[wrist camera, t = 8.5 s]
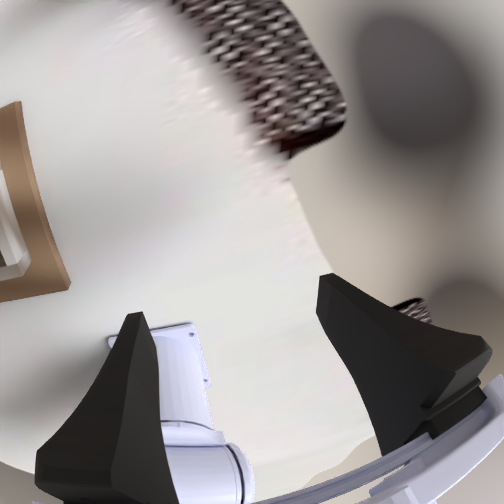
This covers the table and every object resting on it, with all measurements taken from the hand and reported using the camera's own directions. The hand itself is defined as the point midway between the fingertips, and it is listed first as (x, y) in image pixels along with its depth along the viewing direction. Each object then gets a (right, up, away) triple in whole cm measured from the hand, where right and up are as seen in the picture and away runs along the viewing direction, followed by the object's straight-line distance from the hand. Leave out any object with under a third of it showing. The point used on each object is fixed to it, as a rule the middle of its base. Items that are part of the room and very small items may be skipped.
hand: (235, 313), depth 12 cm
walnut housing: (-19, +5, +3) cm, 20 cm away
